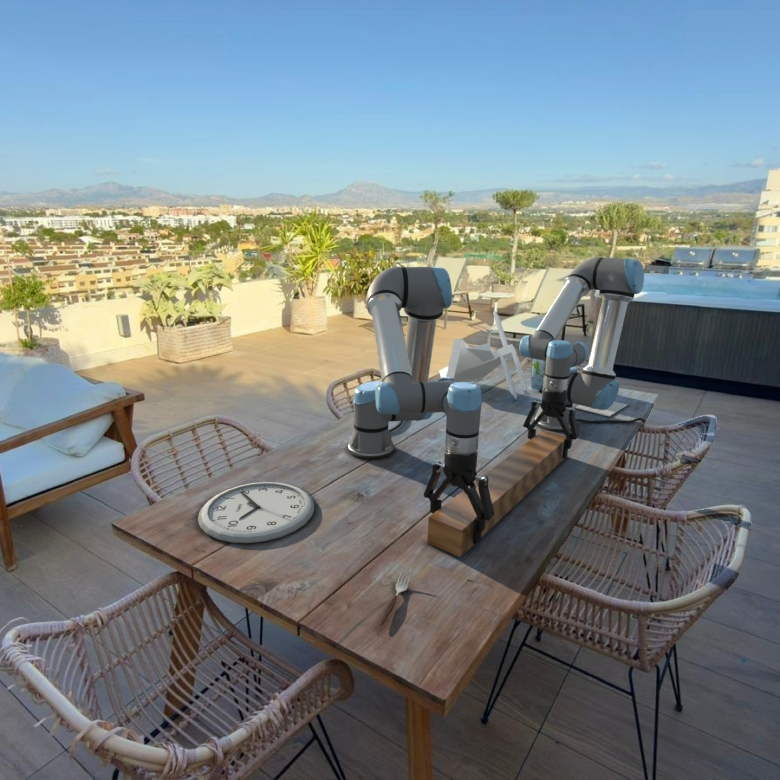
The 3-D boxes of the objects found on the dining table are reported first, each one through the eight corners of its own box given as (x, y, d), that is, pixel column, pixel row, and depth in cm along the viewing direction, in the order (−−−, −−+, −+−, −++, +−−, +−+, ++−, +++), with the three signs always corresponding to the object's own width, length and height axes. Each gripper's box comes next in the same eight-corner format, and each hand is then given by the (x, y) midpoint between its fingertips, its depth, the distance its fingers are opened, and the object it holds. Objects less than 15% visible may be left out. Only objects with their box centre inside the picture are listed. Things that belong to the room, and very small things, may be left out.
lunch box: (547, 395, 239) (552, 351, 233) (526, 390, 247) (530, 347, 240) (574, 384, 257) (579, 343, 251) (554, 380, 264) (558, 339, 258)
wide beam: (540, 449, 181) (542, 430, 179) (566, 456, 176) (569, 436, 174) (427, 543, 126) (428, 517, 124) (460, 557, 121) (462, 530, 119)
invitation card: (608, 416, 214) (573, 407, 224) (608, 416, 214) (573, 408, 224) (628, 404, 229) (594, 396, 238) (628, 405, 229) (594, 397, 238)
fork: (373, 626, 100) (374, 617, 99) (401, 576, 114) (401, 568, 113) (386, 630, 99) (386, 621, 98) (412, 579, 113) (412, 571, 112)
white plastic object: (461, 429, 252) (437, 405, 227) (444, 352, 274) (420, 323, 250) (535, 404, 240) (518, 377, 215) (510, 326, 262) (492, 293, 237)
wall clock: (310, 535, 126) (182, 539, 123) (311, 541, 126) (183, 545, 124) (317, 477, 154) (212, 480, 152) (317, 482, 155) (213, 485, 152)
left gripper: (410, 442, 124) (408, 523, 131) (500, 469, 111) (492, 558, 118) (427, 432, 130) (424, 511, 137) (514, 457, 117) (506, 543, 123)
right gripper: (516, 385, 171) (510, 447, 177) (588, 399, 158) (579, 465, 164) (525, 380, 177) (519, 440, 183) (595, 393, 163) (586, 458, 170)
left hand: (455, 533), depth 127 cm, fingers open, 11 cm apart
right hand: (547, 452), depth 174 cm, fingers open, 11 cm apart
